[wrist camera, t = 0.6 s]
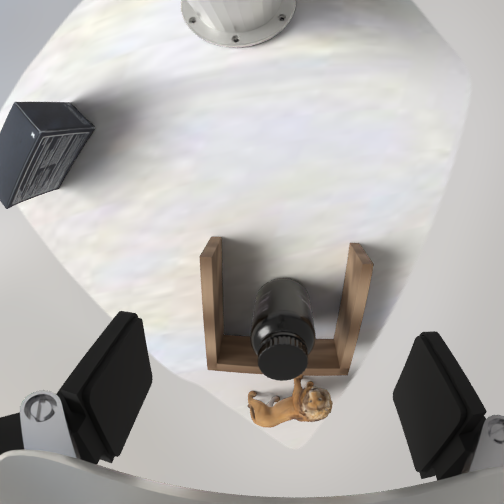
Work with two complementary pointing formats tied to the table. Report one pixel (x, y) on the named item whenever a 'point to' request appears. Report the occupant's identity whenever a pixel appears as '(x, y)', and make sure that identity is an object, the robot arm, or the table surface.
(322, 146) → the table surface
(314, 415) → the lion figurine
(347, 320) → the walnut u-shaped bracket
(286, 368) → the supplement bottle
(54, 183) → the small box
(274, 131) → the table surface
